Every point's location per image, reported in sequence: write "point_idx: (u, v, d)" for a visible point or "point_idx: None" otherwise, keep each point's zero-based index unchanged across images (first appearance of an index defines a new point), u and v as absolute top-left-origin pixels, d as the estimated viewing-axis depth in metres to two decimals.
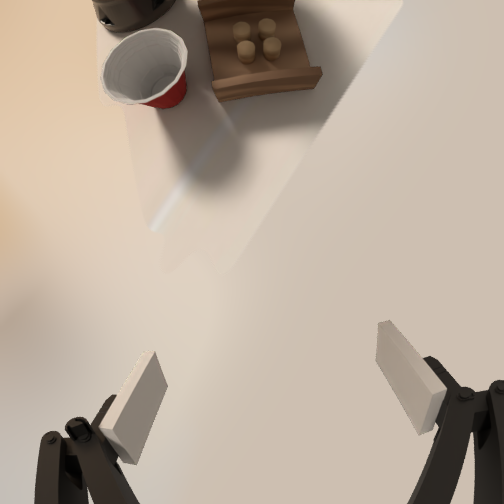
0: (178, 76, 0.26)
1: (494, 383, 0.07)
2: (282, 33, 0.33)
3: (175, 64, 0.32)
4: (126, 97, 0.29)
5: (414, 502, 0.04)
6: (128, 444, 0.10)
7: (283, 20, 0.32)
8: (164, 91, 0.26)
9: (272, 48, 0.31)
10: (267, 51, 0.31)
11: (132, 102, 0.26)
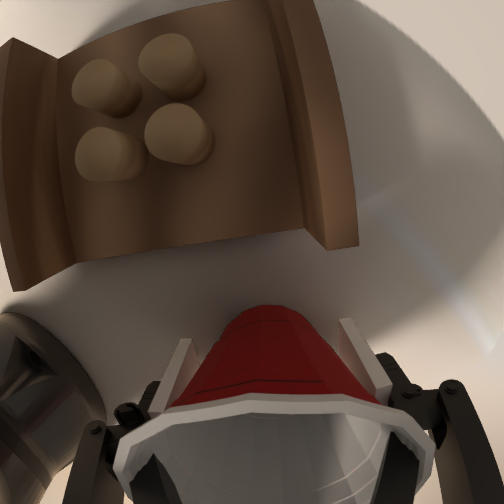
0: (393, 419, 0.05)
1: (443, 383, 0.09)
2: (120, 63, 0.12)
3: None
4: (338, 482, 0.09)
5: (375, 501, 0.05)
6: None
7: None
8: (428, 444, 0.05)
9: (181, 54, 0.09)
10: (189, 71, 0.10)
11: None
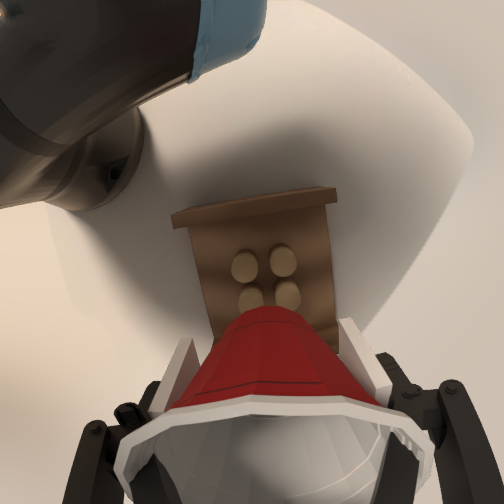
0: (393, 420, 0.05)
1: (443, 383, 0.09)
2: (304, 250, 0.29)
3: None
4: (338, 483, 0.09)
5: (375, 501, 0.05)
6: None
7: (307, 223, 0.28)
8: (428, 445, 0.06)
9: (287, 307, 0.27)
10: None
11: None
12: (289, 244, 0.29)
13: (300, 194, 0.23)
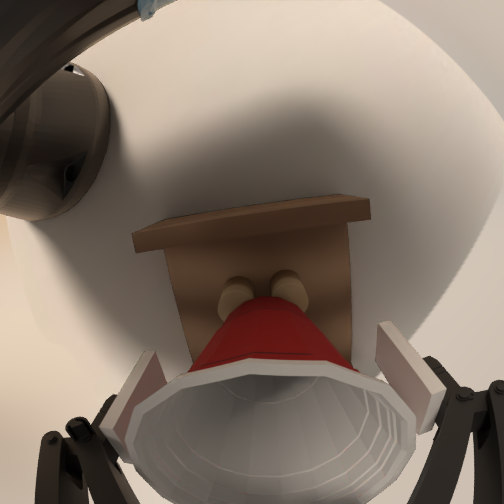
0: (373, 385, 0.07)
1: (494, 383, 0.07)
2: (316, 278, 0.22)
3: None
4: (331, 461, 0.11)
5: (414, 502, 0.04)
6: None
7: (323, 243, 0.21)
8: (409, 415, 0.07)
9: None
10: None
11: (396, 474, 0.07)
12: (297, 271, 0.22)
13: (319, 207, 0.15)
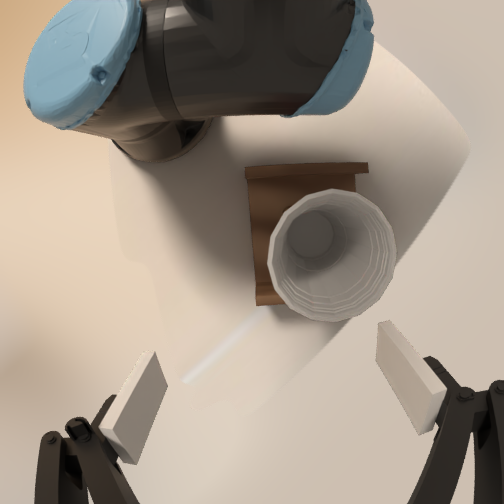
0: (372, 205, 0.21)
1: (494, 383, 0.07)
2: None
3: None
4: (356, 284, 0.25)
5: (414, 502, 0.04)
6: (128, 444, 0.10)
7: None
8: (389, 226, 0.21)
9: None
10: None
11: (391, 272, 0.22)
12: None
13: (343, 163, 0.30)
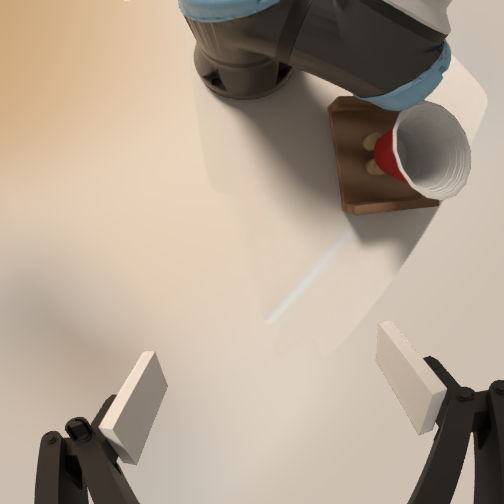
0: (450, 114, 0.23)
1: (494, 383, 0.07)
2: None
3: (386, 134, 0.30)
4: (444, 179, 0.27)
5: (414, 502, 0.04)
6: (128, 444, 0.10)
7: None
8: (462, 130, 0.23)
9: None
10: None
11: (469, 163, 0.23)
12: None
13: None
